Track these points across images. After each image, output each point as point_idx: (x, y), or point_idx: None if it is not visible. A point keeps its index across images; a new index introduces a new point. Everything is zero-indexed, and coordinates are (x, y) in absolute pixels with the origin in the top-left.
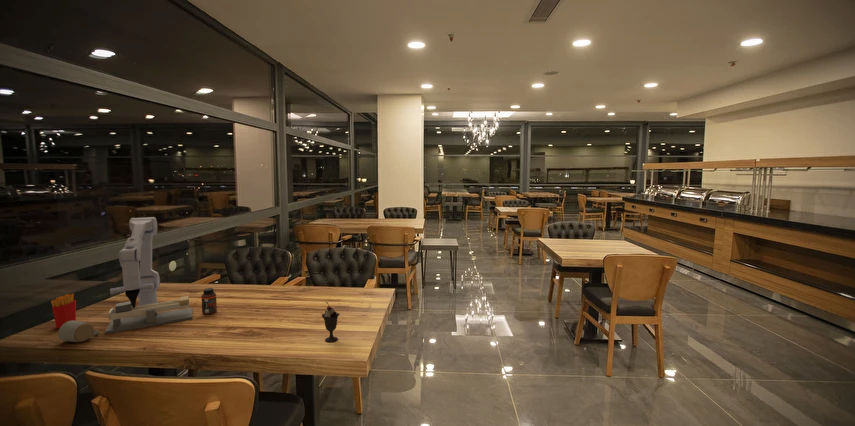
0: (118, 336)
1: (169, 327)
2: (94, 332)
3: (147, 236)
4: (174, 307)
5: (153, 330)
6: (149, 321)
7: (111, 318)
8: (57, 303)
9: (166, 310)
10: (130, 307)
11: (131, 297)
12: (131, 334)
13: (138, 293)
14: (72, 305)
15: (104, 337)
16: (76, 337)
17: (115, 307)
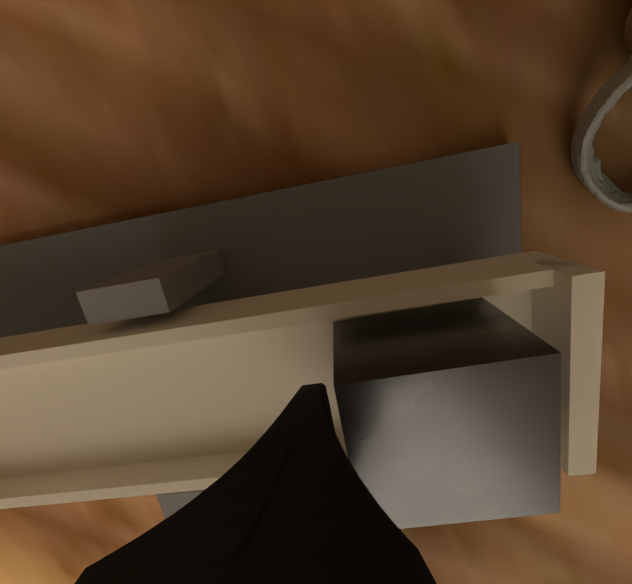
0: (373, 25)
1: (17, 113)
2: (613, 84)
3: None
4: None
5: (120, 82)
6: (194, 253)
7: (520, 257)
8: None
9: (34, 332)
10: (336, 355)
11: (294, 492)
12: (274, 40)
13: (82, 582)
14: None
15: (492, 47)
16: None
17: (545, 346)
